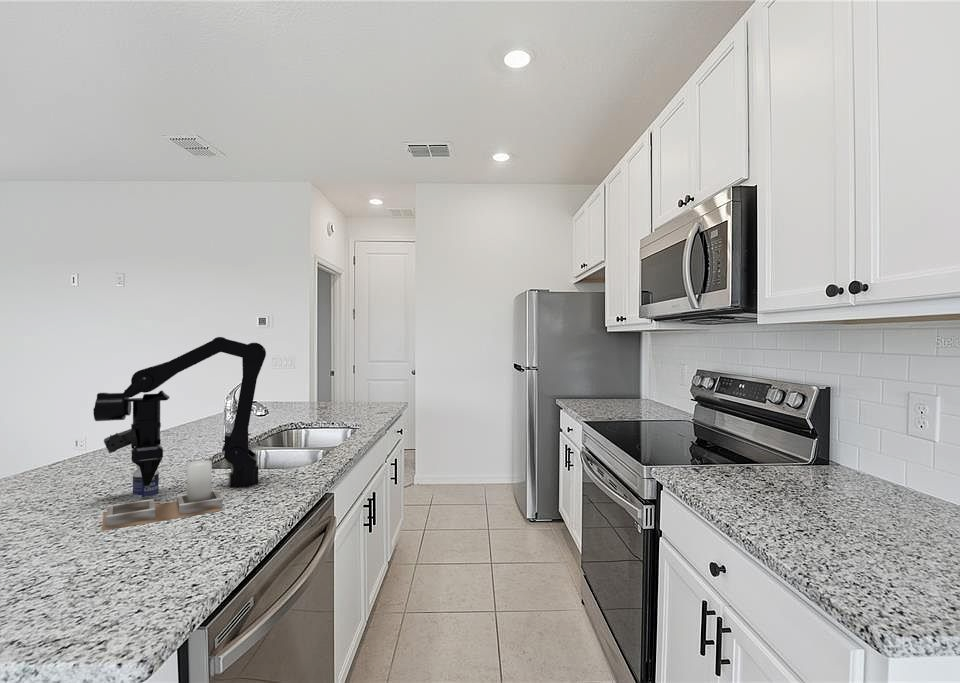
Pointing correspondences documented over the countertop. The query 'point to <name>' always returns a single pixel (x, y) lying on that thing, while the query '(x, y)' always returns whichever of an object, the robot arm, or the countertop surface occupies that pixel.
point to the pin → (199, 481)
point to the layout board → (157, 511)
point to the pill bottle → (139, 487)
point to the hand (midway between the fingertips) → (146, 481)
